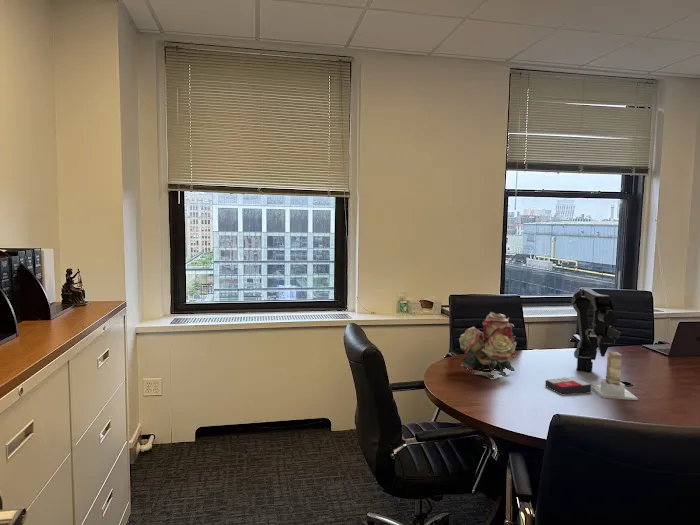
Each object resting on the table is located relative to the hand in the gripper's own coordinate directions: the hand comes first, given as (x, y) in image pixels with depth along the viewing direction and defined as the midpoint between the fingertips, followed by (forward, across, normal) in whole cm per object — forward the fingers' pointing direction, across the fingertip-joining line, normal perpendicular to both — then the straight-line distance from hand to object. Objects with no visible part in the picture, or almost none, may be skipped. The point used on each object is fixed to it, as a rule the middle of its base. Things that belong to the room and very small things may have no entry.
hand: (598, 353), depth 206 cm
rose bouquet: (+13, +4, +48) cm, 50 cm away
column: (+8, -16, 0) cm, 18 cm away
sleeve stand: (+13, -16, 0) cm, 21 cm away
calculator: (+14, -15, +18) cm, 27 cm away
